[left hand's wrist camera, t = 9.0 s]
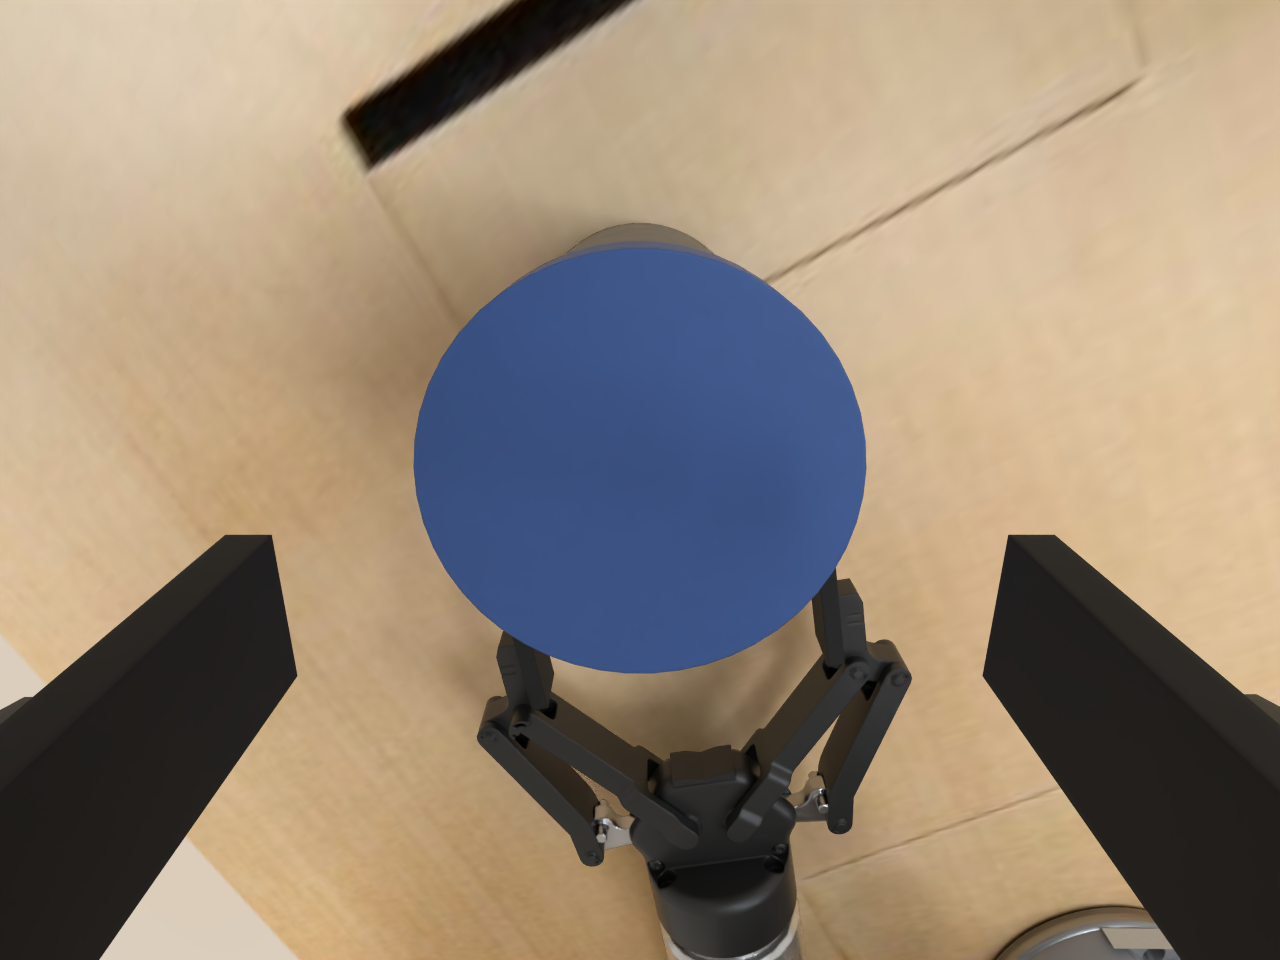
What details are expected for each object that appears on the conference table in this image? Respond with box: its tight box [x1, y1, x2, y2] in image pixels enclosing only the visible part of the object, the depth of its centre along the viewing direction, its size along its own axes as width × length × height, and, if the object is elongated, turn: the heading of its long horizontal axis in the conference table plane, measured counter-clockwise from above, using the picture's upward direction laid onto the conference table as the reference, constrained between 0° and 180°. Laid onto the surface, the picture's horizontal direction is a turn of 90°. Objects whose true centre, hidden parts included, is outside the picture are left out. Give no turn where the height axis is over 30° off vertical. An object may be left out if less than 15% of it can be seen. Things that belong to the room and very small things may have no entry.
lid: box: [414, 241, 866, 673], centre depth 20 cm, size 11×11×2 cm
